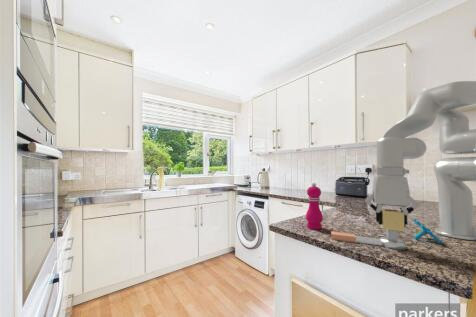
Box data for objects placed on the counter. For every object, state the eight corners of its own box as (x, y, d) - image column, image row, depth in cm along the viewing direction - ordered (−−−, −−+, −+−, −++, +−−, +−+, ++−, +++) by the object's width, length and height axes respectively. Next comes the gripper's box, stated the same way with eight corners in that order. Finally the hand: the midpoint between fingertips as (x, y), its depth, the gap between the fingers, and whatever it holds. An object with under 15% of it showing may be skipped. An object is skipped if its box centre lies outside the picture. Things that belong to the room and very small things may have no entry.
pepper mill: (311, 224, 95) (310, 182, 96) (326, 228, 89) (325, 183, 90) (302, 227, 90) (302, 182, 91) (317, 231, 85) (317, 183, 86)
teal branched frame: (446, 243, 68) (417, 218, 73) (430, 253, 70) (403, 228, 75) (440, 239, 76) (414, 217, 82) (425, 247, 78) (401, 226, 84)
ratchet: (401, 244, 71) (400, 228, 71) (408, 251, 65) (407, 234, 65) (331, 235, 80) (331, 221, 80) (331, 240, 74) (331, 225, 74)
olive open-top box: (399, 227, 70) (398, 209, 71) (404, 231, 65) (404, 212, 66) (379, 224, 73) (379, 208, 73) (382, 228, 68) (382, 210, 68)
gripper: (417, 173, 70) (419, 225, 69) (360, 172, 77) (360, 219, 76) (426, 173, 63) (428, 231, 62) (362, 172, 70) (363, 224, 69)
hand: (391, 224), depth 69 cm, fingers closed on olive open-top box, 5 cm apart
